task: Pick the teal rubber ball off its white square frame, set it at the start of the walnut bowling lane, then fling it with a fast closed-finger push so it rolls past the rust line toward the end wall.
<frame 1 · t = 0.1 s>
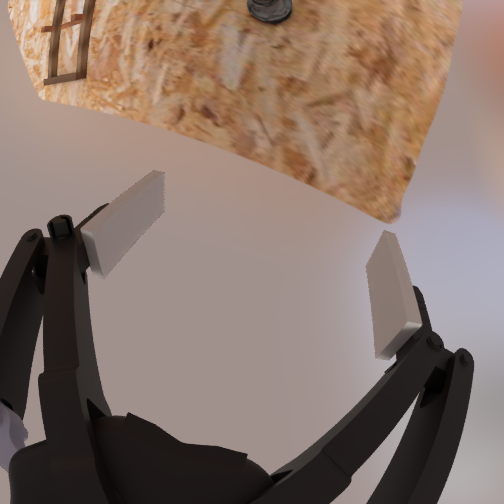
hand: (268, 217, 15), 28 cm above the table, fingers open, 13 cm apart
lane: (75, 14, 27), on the table
dark grey chess piece: (273, 9, 26), on the table
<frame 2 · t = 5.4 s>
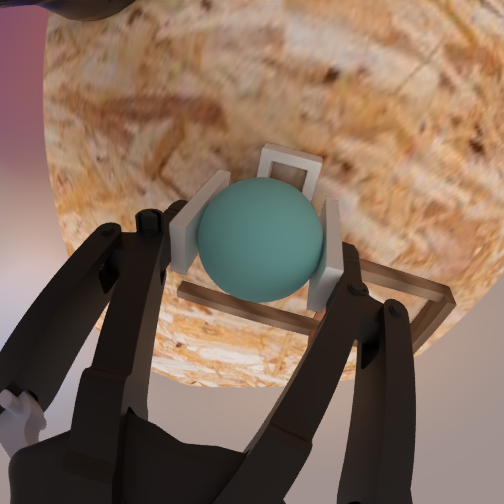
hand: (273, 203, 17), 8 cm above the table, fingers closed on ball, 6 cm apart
ball: (260, 239, 13), point 12 cm above the table, touching gripper
lane: (314, 290, 30), on the table
white square frame: (288, 174, 23), on the table
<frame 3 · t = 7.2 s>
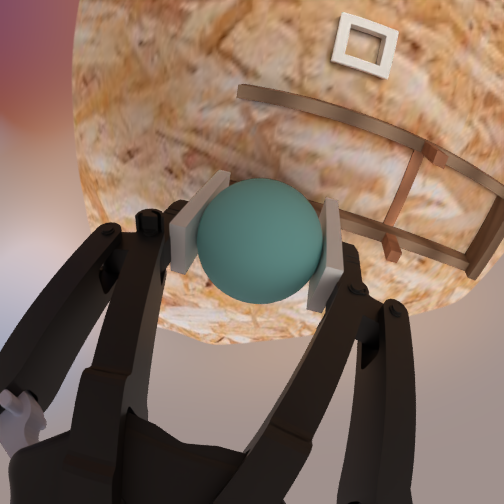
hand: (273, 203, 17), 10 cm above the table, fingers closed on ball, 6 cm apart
ball: (259, 241, 13), point 15 cm above the table, touching gripper
lane: (387, 182, 24), on the table
white square frame: (362, 46, 17), on the table
when the fingers open (0 cm above the table, at t = 9.5 s): ball drops 2 cm, point 3 cm above the table.
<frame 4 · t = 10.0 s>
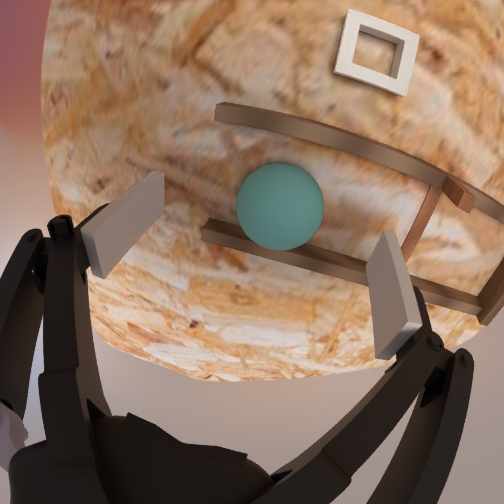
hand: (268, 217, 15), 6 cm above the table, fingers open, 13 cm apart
ball: (280, 206, 18), point 3 cm above the table, tilted 6°
lane: (397, 223, 20), on the table
white square frame: (373, 54, 13), on the table
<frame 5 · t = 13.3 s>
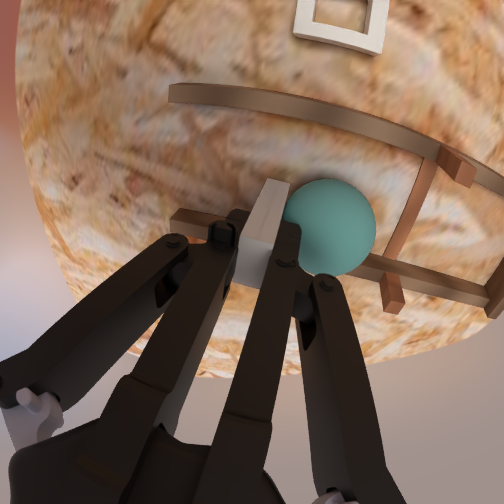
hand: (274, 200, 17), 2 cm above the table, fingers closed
ball: (328, 227, 16), point 3 cm above the table, tilted 88°, touching gripper
lane: (387, 203, 17), on the table
white square frame: (341, 12, 10), on the table
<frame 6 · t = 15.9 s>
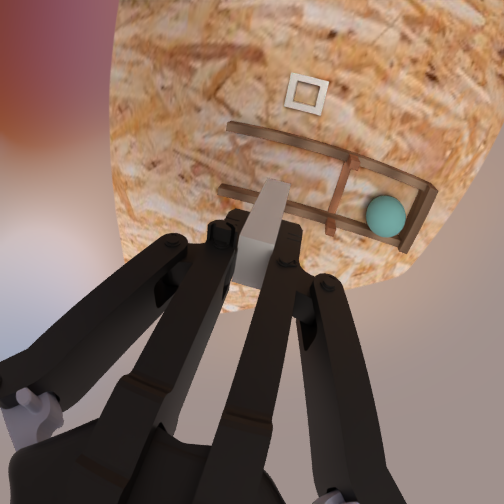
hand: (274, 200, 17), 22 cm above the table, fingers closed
ball: (385, 216, 35), point 3 cm above the table, tilted 35°
lane: (327, 183, 38), on the table
white square frame: (306, 93, 31), on the table
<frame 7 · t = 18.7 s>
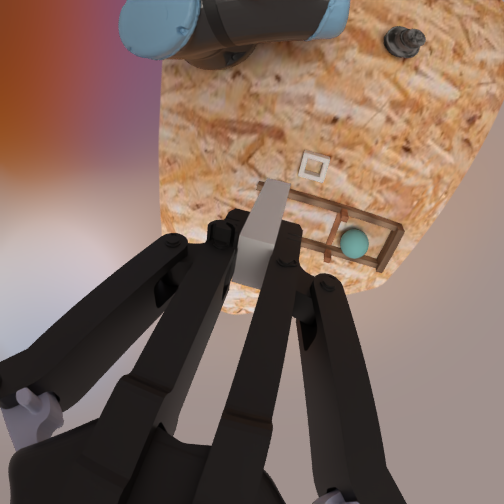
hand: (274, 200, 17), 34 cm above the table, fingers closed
ball: (354, 243, 53), point 3 cm above the table, tilted 85°
lane: (326, 225, 55), on the table
white square frame: (314, 164, 48), on the table
dark grey chess piece: (397, 44, 31), on the table
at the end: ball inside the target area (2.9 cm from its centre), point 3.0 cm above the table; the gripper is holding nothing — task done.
